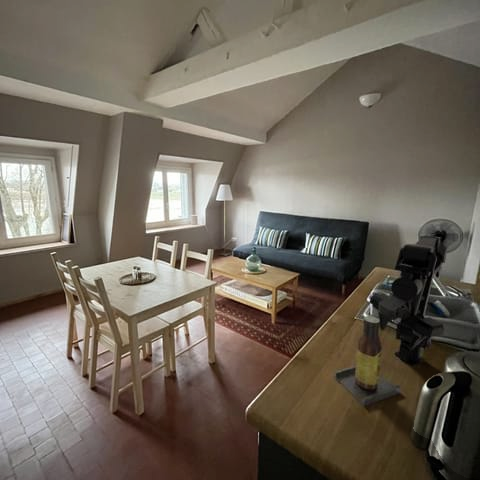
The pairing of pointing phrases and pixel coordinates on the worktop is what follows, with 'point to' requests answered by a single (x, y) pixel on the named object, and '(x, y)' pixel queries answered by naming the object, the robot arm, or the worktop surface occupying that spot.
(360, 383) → the sauce bottle
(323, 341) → the worktop surface
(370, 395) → the floor track
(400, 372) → the worktop surface
